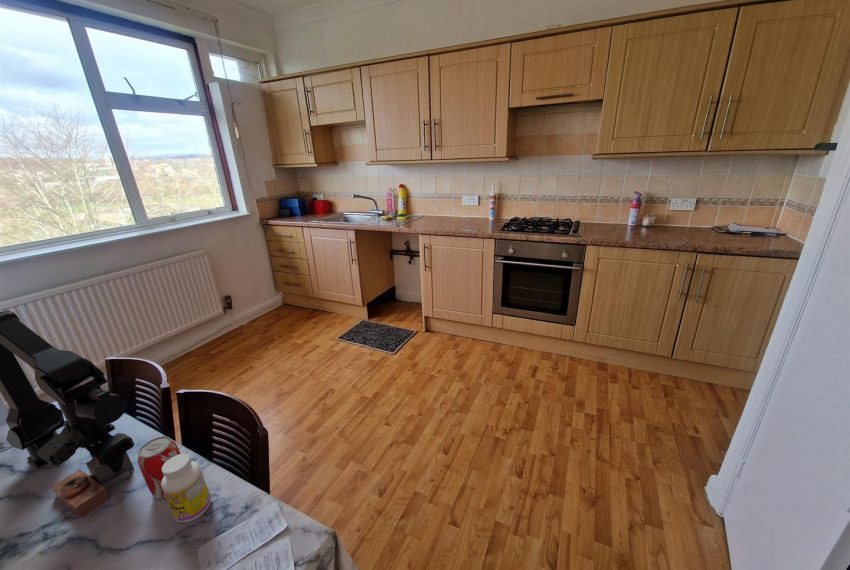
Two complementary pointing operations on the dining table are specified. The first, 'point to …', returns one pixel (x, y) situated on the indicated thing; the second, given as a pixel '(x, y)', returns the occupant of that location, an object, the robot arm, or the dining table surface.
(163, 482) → the supplement bottle
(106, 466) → the grey stepped block
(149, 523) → the dining table surface
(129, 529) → the dining table surface
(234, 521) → the dining table surface
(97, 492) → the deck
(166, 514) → the dining table surface
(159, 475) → the soda can
